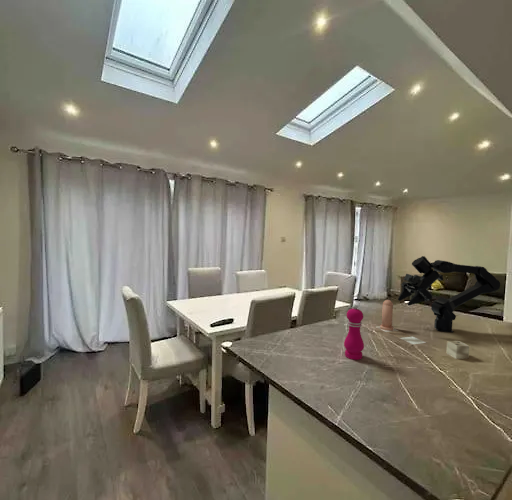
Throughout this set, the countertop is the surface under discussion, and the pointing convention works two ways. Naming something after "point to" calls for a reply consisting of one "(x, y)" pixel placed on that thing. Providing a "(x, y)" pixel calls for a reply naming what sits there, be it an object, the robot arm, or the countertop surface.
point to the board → (401, 334)
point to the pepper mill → (354, 334)
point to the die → (457, 350)
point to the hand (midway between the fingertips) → (403, 302)
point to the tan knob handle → (387, 316)
